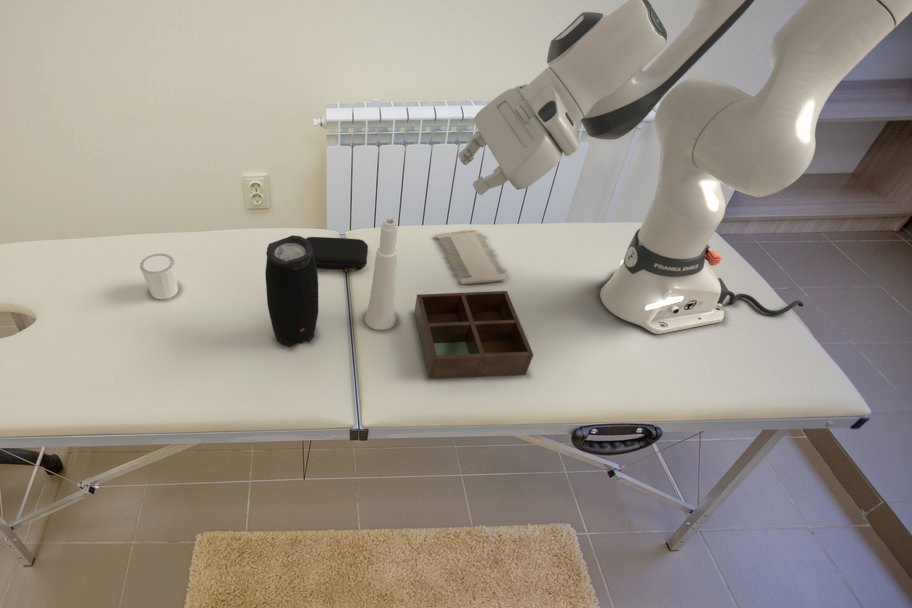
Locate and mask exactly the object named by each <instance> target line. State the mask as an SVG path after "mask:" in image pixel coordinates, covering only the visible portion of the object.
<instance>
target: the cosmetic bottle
mask: <svg viewBox="0 0 912 608" xmlns="http://www.w3.org/2000/svg"><path fill="white" fill-rule="evenodd" d="M397 236H398V225H397V220H396V219H395V218H393V217H386V218H384V219H383V220H382V225H381V227H380V236H379V246H378V248H377V249H376V252H375V253H376V254H375V259H374V266H373V275H372V283H371V290H370V296H369V300H368V306H367V310H366V314H365V317H364V321H365V324H366V326H368V327H370V329H371V328H372V329H373V330H376V331H386V330H390V329H391V328H392V327H394V325H395V324H396V321H397V317H396V282H397V267H398V250H397V248H396V247H397V246H396V245H397V238H398V237H397Z"/></svg>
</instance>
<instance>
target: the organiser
mask: <svg viewBox="0 0 912 608" xmlns="http://www.w3.org/2000/svg"><path fill="white" fill-rule="evenodd" d="M414 305H415V306H414V311H413V316H414V321H415V325H416V329H417V334H418V337H419V341H420V346H421V351H422V354H423V359H424V363H425V367H426V371H427V375H428V379H429V380H431V379H432V380H437V379H438V380H439V379H456V378H458V379H459V378H479V377H483V378H484V377H504V376H526V375H527V372H528V370H529V367H530V365H531V362H532V359H533V357H534V352H533V349H532V348H531V345H530V343H529V341H528V338H527V335H526V333H525V331H524V328H523V326H522V323H521V322H520V319H519V317H518V314H517V312H516V309H515V307H514V304H513V302H512V299H511V297H510V295H509V293H508V290H495V291H494V290H493V291H491V290H490V291H471V292H470V291H469V292H468V291H467V292H445V293H424V294H423V293H421V294H416V297H415V304H414Z"/></svg>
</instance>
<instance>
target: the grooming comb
mask: <svg viewBox="0 0 912 608" xmlns="http://www.w3.org/2000/svg"><path fill="white" fill-rule="evenodd" d="M436 238H437V240H438V241H439V243H440V245H441V247H442V249H443V250H444V252H445V253H444V254H445V255H446V257H447V259H448V261H449V263H450V264H451V267H452V268H453V270H454V272H455V274H456V276H457V278H458V281H459V282H460V285H461V284H462V285H472V284H473V285H474V284H484V283H494V282H503V281H505V279H506V277H507V274H506V273H505V271H504V270H503V268H502V266H501V265H500V263H499V261H498V260H497V258H496V257H495V255H494V253H493V251H492V250H491V249H490V246H489V245H488V243H487V242H486V239H485V238H484V236H483V235H482V233H481V232H480V231H478V230H476V229H469V230H459V231H453V232H446V233H441V234H436Z"/></svg>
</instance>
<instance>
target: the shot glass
mask: <svg viewBox="0 0 912 608" xmlns="http://www.w3.org/2000/svg"><path fill="white" fill-rule="evenodd" d="M139 268H140V269H139V270H140V271H141V273H142V275H143V278H144V280H145V282H146V285H147V287H148V289H149V292H150V294H151V296H152V298H154V299H157V300H168V299H171V298H173V297H174V296H176V294H177V293H178V292H179V286H178V285H179V284H178V278H177V272H176V263H175V259H174V258H173V256H171V255H170V254H167V253H154V254H150V255H148V256H146V257H145V258H143V259H142V260H141V262H140V263H139Z"/></svg>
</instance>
